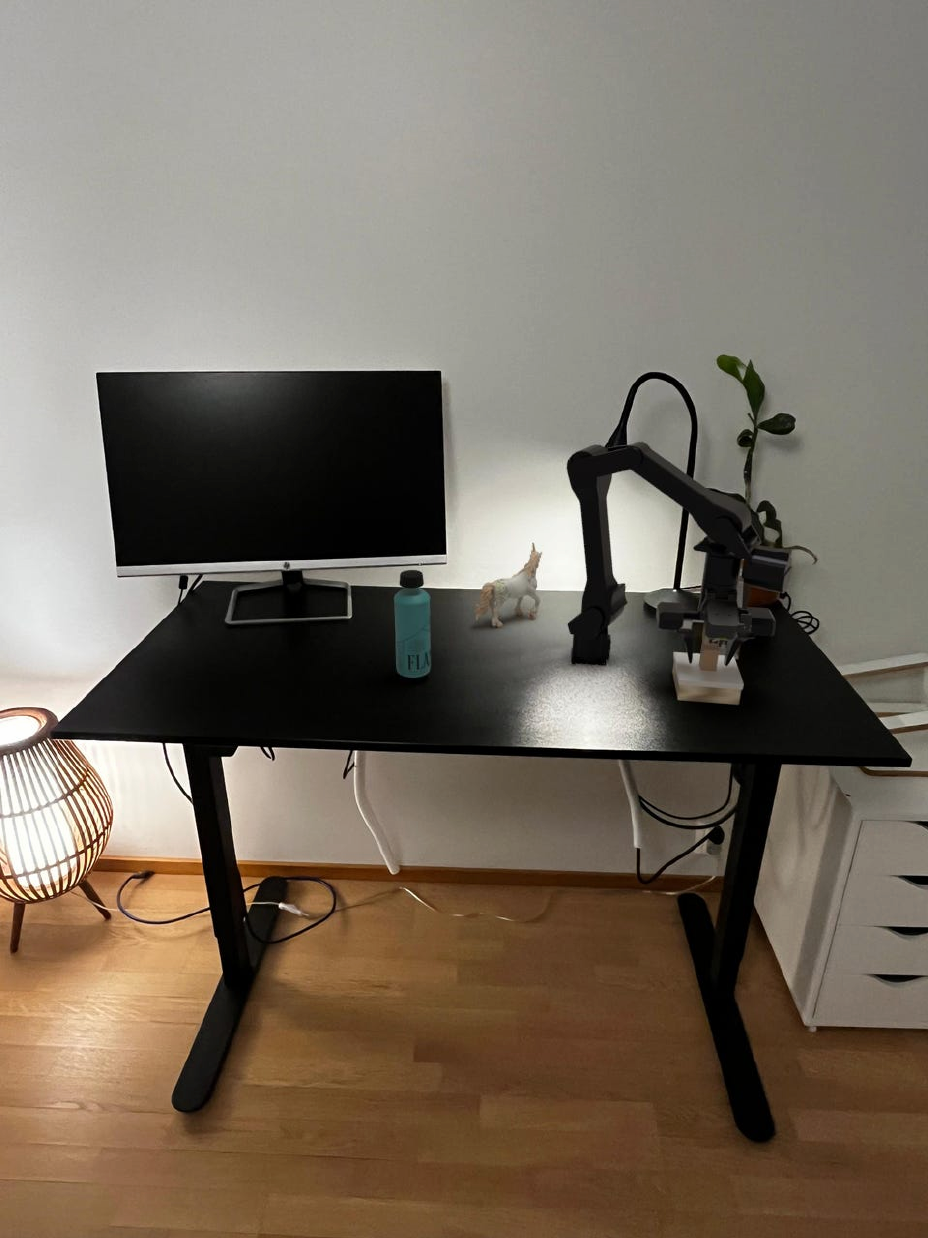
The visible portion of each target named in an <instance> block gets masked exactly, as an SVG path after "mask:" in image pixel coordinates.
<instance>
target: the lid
mask: <svg viewBox="0 0 928 1238" xmlns="http://www.w3.org/2000/svg"><path fill="white" fill-rule="evenodd" d="M699 652H700V653H697V652H696V653H695V652H693V659H692V663H691V664H690V663H689V660H688V655H687V652H679V651H673V653H672V654H673V656H672V658H673V664H675V669H676V673H677V678H678V683H679V685H687V686H701V687H715V688H728V689H741V691H742V690H743V689H744V685H745V684H744V680H743V678H742V676H741V673H740V669H739V667H738V664H737V662H736V659H735V658H734V656H733V658H732V659H731V661H730V662H729V664H728V666H725V665H724V658H725V655H719V648H718V645H717V644H711V643H703V642H701V645H700V651H699Z"/></svg>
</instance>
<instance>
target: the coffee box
mask: <svg viewBox="0 0 928 1238" xmlns="http://www.w3.org/2000/svg"><path fill="white" fill-rule="evenodd" d="M742 568H743V564H741V570H740V576H739V583H738V589H737V592H738V593H737V605H738V607H740V608H742V609H746V608H747V607H748V603H749V598H750V593H751V588H752V587H751V586H747V583H744V582H743V578H742ZM701 641H702V642H701V643H711V644H717V645H718V648H719V655H725V651H726V647H727V642H728V639H726V638H715V639H713V638H708V637H707V636H706V635H705V626H704V625H703V627H702V633H701ZM740 651H741V646H740V647H739V648H738V649H737V651H736V653H735V654H734V658H735V660H739V656H740Z"/></svg>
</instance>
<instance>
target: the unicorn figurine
mask: <svg viewBox="0 0 928 1238" xmlns="http://www.w3.org/2000/svg"><path fill="white" fill-rule="evenodd" d="M531 544H532V546H531V547H532V549H531V550H530V555H529V559H528V561H527V562H526V563H525V564H524V565H523V568H522V569H520V571H518V572H517V573H516V574H514V575H512V576H511V577H509V578H508V577H507V578H505V577H503V578H502V577H501V578H497V579H495V580H494V581H492V582H491V581H490V582H489V581H488V582H486V583H484V584H483V586H482V587H481V592H480V594H479V602H478V604H476V607H477V608H476V609H475V611H474V612H475V613H476V614H475V621H478V620H479V619H480V618H481V617H484V616H485V615H486V613H487V612H488V609H489V608H491V610H490V613H491V614H492V618H491V624H492V626H493V627H497V628H499V629H501V628H503V626H504V624H503V623H502V622H501V621H500V620H499V611H500V609H501V608H502V607H503V606H504V604H505V603H506V601H507V600H508V599H517V604H516V606H515V608H514V609H513V610H514V611H513V613H514V614H513V615H514V616H517V615H518V616H520V617H521V616H523V615H524V612H523V610H522V609H521V604H522V601H523V600H524V599H523V598H524V597H525V596H529V597H530V598H531V599H533V600H534V605H533V606H532V607H531V608H530V609H529V613H528V617H529V619H530V620H534V619H535V617H536V615H537V613H538V611H539V606H540V603H541V598H540V596H539V595H538V594H537V591H536V590H537V588H538V581H537V575H536V574H537V569H538V568H539V565H540V564H539V563H540V562H541V558H542V555H543V551H541V552H539V551H536V547H535V542H532V543H531ZM495 602H496V603H495Z"/></svg>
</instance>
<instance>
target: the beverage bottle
mask: <svg viewBox="0 0 928 1238" xmlns="http://www.w3.org/2000/svg"><path fill="white" fill-rule="evenodd" d="M424 584H425V581H424V574H423V571H420V570H417V569H407V570H403V571H402V572H400V575H399V586H400V587H401V589H400V590H399V591H398V592H397V593H396V594H395V595H394V597H393V601H394V619H395V620H394V624H395V626H394V627H395V655H394V657H395V665H396V666H395V667H396V672H397V673H398V674H399V675H400V676H402V677H405V678H411V679H415V678H417V679H418V678H422V677H425V676H426V675H428V674H429V673H430V672H431V668H432V660H433V659H432V647H431V646H432V640H431V639H432V635H431V630H432V629H431V623H432V614H431V610H432V608H431V604H430V603H431V596H430V594H429V593H428V592H427V591H426V590H425V589H423V588H421V587H423V586H424Z"/></svg>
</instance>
